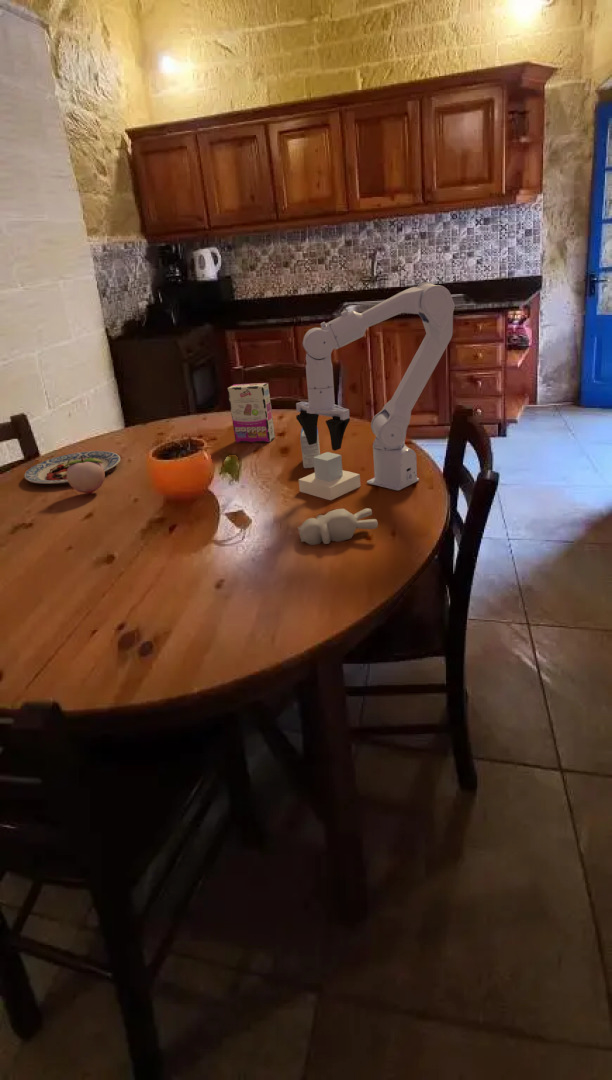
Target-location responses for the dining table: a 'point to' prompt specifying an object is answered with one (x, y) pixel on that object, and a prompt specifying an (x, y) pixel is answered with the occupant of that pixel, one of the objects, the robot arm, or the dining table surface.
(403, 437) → the robot arm
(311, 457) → the medicine box
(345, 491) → the base brick
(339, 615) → the dining table surface
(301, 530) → the bunny figurine
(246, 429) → the candy bar box
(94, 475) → the decorative fruit
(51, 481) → the ceramic plate
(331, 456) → the blue-grey brick
